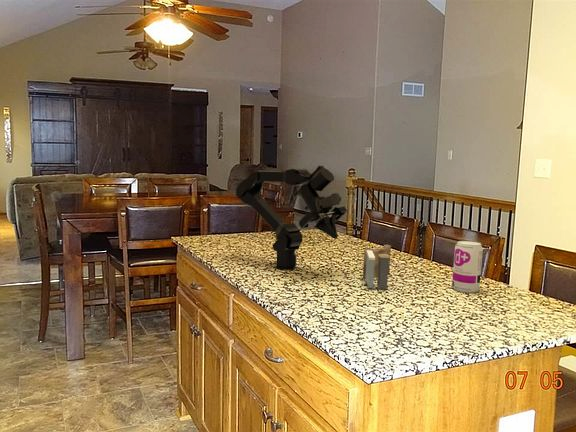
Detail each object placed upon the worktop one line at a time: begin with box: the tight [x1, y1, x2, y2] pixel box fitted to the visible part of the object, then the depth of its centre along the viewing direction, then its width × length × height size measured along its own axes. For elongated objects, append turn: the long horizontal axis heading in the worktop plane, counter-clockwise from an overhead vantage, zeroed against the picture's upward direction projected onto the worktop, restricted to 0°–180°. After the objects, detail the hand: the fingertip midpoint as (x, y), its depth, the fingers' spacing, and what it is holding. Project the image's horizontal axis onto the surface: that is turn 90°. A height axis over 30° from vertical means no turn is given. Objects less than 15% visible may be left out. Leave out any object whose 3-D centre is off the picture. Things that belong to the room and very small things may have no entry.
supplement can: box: [451, 240, 484, 294], centre depth 168 cm, size 8×8×15 cm
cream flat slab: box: [364, 250, 375, 290], centre depth 170 cm, size 12×2×10 cm, turn 176°
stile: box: [376, 254, 391, 290], centre depth 166 cm, size 3×3×11 cm
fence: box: [362, 244, 392, 281], centre depth 182 cm, size 14×3×10 cm, turn 138°
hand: (336, 238), depth 176 cm, fingers closed
